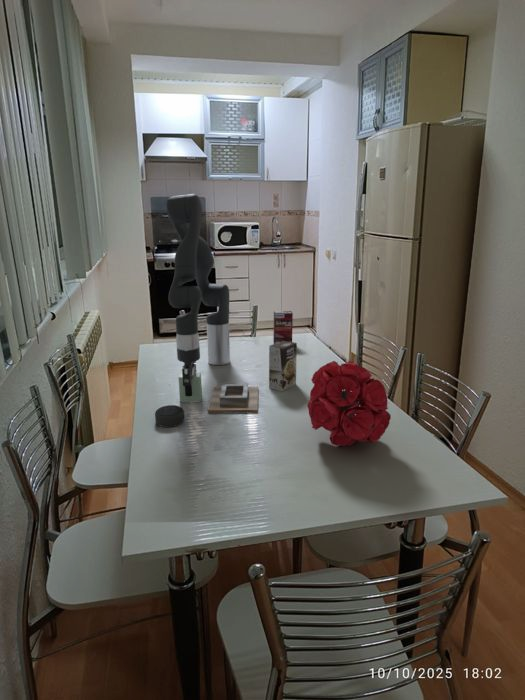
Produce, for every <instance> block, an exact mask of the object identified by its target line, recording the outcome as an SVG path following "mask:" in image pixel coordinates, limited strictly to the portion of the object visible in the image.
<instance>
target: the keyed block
mask: <svg viewBox="0 0 525 700" xmlns="http://www.w3.org/2000/svg"><path fill="white" fill-rule="evenodd" d="M186 382H189V380H188V379H187V380H186ZM178 386H179V387H178V389H179V402H180V403H200V402H202V400H203V399H202V398H203V389H202V388H203V387H202V372H196V373H194V379H192V396H185V386H183V376H182V372H181V373H180V374H179V375H178Z"/></svg>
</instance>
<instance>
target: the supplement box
mask: <svg viewBox="0 0 525 700" xmlns="http://www.w3.org/2000/svg"><path fill="white" fill-rule="evenodd" d="M293 314H294V313H293V312H292V311H291V310H286V311H285V310H283V311H282V310H281V311H275V310H274V311H273V337H272V338H273V341H272V342H273V344H276V343H278V342H281V341H288V342H293V326H294V325H293V321H294V319H293V317H294V315H293Z"/></svg>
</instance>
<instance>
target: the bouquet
mask: <svg viewBox="0 0 525 700" xmlns="http://www.w3.org/2000/svg"><path fill="white" fill-rule="evenodd" d="M372 376H373V374H371V372H370V371H368V370H367V369H366V368H365V367H362V366H360V365H358V363H356V362H351V361H346V362H344V363H341V365H340V364H338V361H335V360H333V361H330V362H327V363H326V364H324V365H322V366H321V367H319V369H317V370H316V371H315V372H314V373H313V374H312V377H311V380H310V381H311V382H312V384H313V387H312V389H311V390H310V394H309V401H308V402H307V404H306V405H307V406H306V407H307V411H308V415H309V418H310V424H311V428H312V429H314V431H315V430H318V429H320V428H321V427H322V428H323V429H324V430H326V431H329V432H330V434H329V440H330V443H331V444H332V445H333V446H341V447H342V446H352V445H353V444H355V443H356V442H358V443H360V442H361V443H362V442H369V443H375V442H377V441H379V440H380V439H381V437H382V436H383V435H384V434H385V433H386V430H387V429H388V427H389V425H390V423H391V422H390V421H391V418H392V417H391V414H390V412H389V411H387V410H388V409H389V407H388V405H389V403H388V396H387V393H388V392H387V391H386V388H385V385H384V384H383V383H382V381H380V380H379V379H375V378H374V377H373V378H371V377H372Z"/></svg>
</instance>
